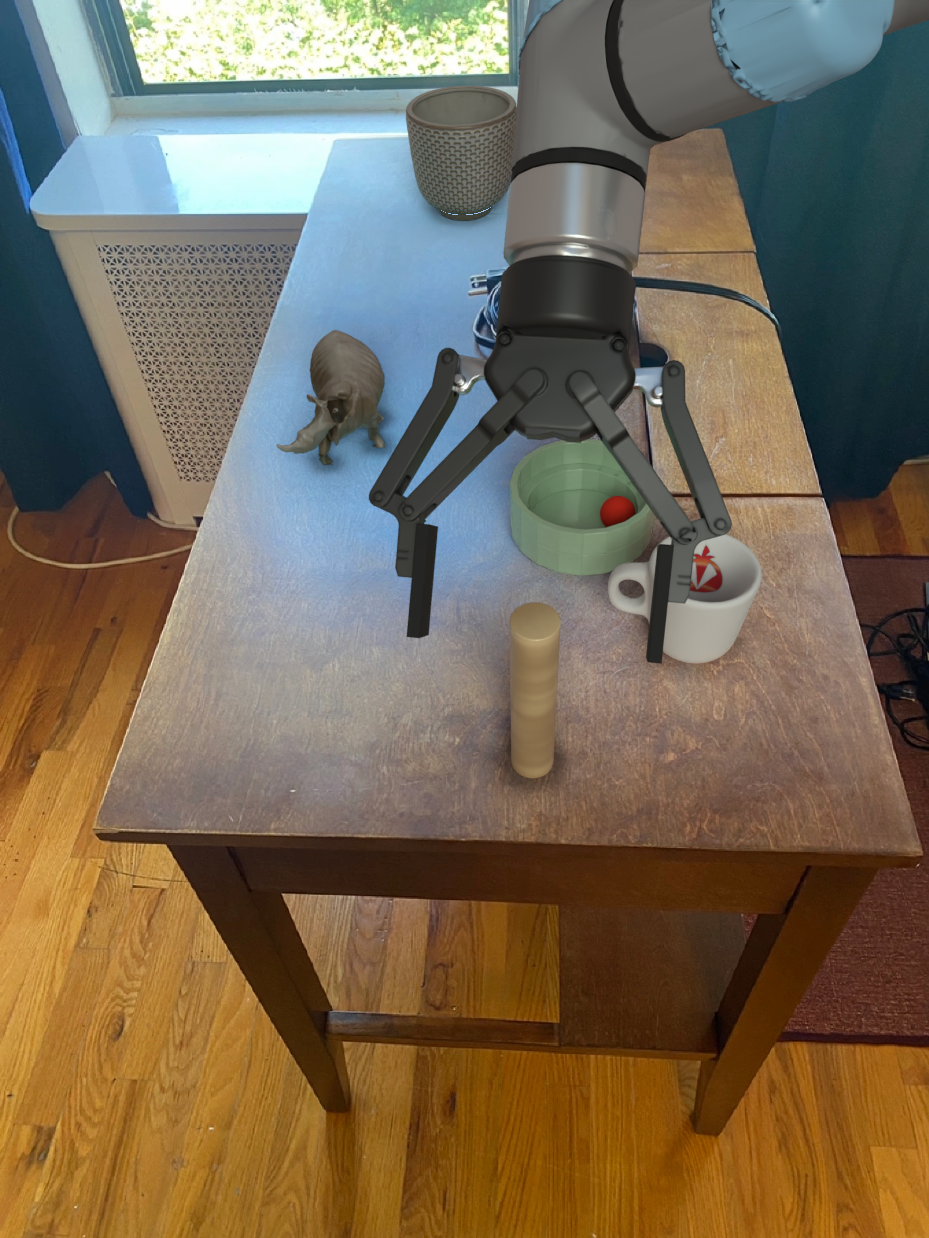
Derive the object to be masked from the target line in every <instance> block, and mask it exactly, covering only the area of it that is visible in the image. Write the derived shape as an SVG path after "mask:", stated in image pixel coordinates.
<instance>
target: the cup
mask: <svg viewBox="0 0 929 1238" xmlns="http://www.w3.org/2000/svg"><path fill="white" fill-rule="evenodd" d="M659 544H667V545H671V538H670V536H669V535H668V536H667V537H665V538H664V539H663V540H661V541H660V542H659V543H658V544H657V545H659ZM657 545H656V546H655V548H654V549H653V551H652V552H651V554H650V556H649V557H650V558H649V561H645V562H641V561H640V562H638V561H637V562H636V561H632V562H629V563H624V564H620V565H618V566H617V567H616V568H614V570H613V571H610V572H611V573H610V575H609V577H608V582H607V595H608V600H609V601H610V603H611V605H613V607H614V608H616V609H617V610H619V611H621V612H624V613H628V614H632V615H633V614H634V615H640V616H642V617H644V618H646V619H647V622H648V624H649V623H650V613H651V603H652V594H653V584H654V574H655V565H656V555H657ZM762 571H763V570H762V566H761V563H760V561H759V559H758V557H757V555H756V554H755V552H754V551H753V550H752V549H751V548H750V546H748V545H747V544H745V543H744V542H743V541H741V540H740V539H738V538H736V537H734V536H732V535H729V534H728V533H727V534H725V535H722V536H719V537H716V538H712V539H708V540H704V541H702V542H700V543H699V544H698V545H697V546H696V548H695V551H694V558H693V567H692V576H691V586H690V595H689V597H688V599H687V601H686V603H685V604H684V603H673V602H668V607H667V617H666V626H665V636H664V645H663V654H665V655H666V656H668V657H669V658H672V659H673V660H676V661H679V662H682V663H687V664H705V663H711V662H712V661H715V660H717V659H719V658H721V657H723V656H724V655H725V654H727V653H728V651H729V650H730V649H731V648H732V646H733V645H734V644H735V642H736V640H737V638H738V636H739V634H740V631H741V629H742V627H743V625H744V623H745V621H746V618H747V616H748V613H749V611H750V609H751V607H752V604H753V602H754V600H755V598H756V597H757V596H756V595H757V594H758V592H759V589H760V587H761V584H762V579H763V572H762ZM628 580H632V581H635V582H636V583H638V584H640V585H641V587H642V588H643V591H644V592H643V593H642V594H641V595H640V596H637V597H629V596H626V595H624V594H623V593H622V592H621V590H620V586H619V585H620V583H622V582H623V581H628Z"/></svg>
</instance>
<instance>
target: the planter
mask: <svg viewBox="0 0 929 1238" xmlns="http://www.w3.org/2000/svg"><path fill="white" fill-rule="evenodd" d="M405 108H406V110H405V123H406V130H407V131H406V132H407V136H408V144H409V151H410V156H411V162H412V169H413V172H414V177H415V182H416V185H417V189H418V190H419V192H420V194H421V196H422V198H423V199H424V200H425V201H426V202H427V203H428V204H429V205H430V206H432V207H434V208H435V209H437V210H438V211H439V213H440V214H441V215H442V216H443V217H445V218H446V219H449V220H453V221H462V222H464V221H465V222H466V221H467V222H468V221H473V220H478V219H481V218H483V217H486V216H487V215H488V214H489V213H490V212H491V210H492V209H493V207H494V206H495V205H496V204H498V203H499V202H500V201H501V200H502V199H503V198H504V197H505V196H506V194H507V193H508V192H509V188H510V184H511V175H512V159H513V147H514V135H515V122H516V110H517V101H516V100H515V98H514V97H513V96H512V94H509V93H508V92H506V91H504V90H501V89H498V88H496V87H495V88H494V87H490V86H482V85H454V86H452V85H451V86H446V87H441V88H435V89H432V90H429V91H425V92H423V93H420V94H419V95H417V96H415V97H414V98H413V99H411V100H410V101H409V102H408V104H407V105H406V107H405ZM490 207H491V208H490ZM488 208H489V209H488ZM486 209H488V210H486ZM441 210H442V211H441ZM483 210H486V211H484V212H481V211H483ZM443 211H444V212H443ZM445 212H446V213H445ZM478 212H481V213H478ZM448 213H451V214H448ZM474 213H478V214H474ZM452 214H458V215H452ZM466 214H473V215H466Z"/></svg>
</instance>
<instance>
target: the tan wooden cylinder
mask: <svg viewBox="0 0 929 1238" xmlns="http://www.w3.org/2000/svg"><path fill="white" fill-rule="evenodd" d="M561 627H562V620H561V615H560V614H559V612H558V611H557V610H556V609H555V608H554V607H553V606H551V605H549V604H546V603H543V602H537V601H536V602H535V601H534V602H529V603H528V602H527V603H524V604H522V605H519V606H518V607H517V608H515V609H514V611H513V612H512V613H511V615H510V618H509V671H510V672H509V675H510V676H509V677H510V678H509V680H510V683H509V685H510V686H509V687H510V690H509V691H510V762H511V766H512V768H513V769H514V771H515V772H516V773H517V774H518V775H520V776H522V777H524V778H528V779H540V778H542V777H545V776H546V775H547V774H548V773H549V772H550V771H551V770H552V768H553V766H554V762H555V743H556V742H555V741H556V723H557V705H558V704H557V703H558V702H557V701H558V685H559V668H560V667H559V666H560V647H561V644H560V643H561Z"/></svg>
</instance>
